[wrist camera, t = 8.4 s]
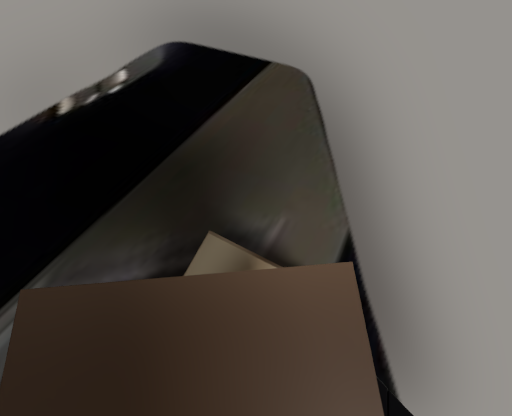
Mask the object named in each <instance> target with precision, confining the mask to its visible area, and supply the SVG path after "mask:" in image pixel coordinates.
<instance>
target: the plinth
mask: <svg viewBox="0 0 512 416" xmlns="http://www.w3.org/2000/svg"><path fill="white" fill-rule="evenodd" d="M272 268H283V267H281V266H279V265H277V264H275V263H273V262H271V261H269V260H267V259H265V258H263V257H261V256H259V255H257V254H255V253H253V252H251V251H249V250H247V249H245V248H243V247H241V246H239V245H237V244H235V243H234V242H232V241H230V240H228V239H226V238H224V237H222V236H220V235H218V234H216V233H214V232H212V231H210V230H209V232H208V234H207V235H206V237H205V239H204V241H203V242H202V244H201V246H200V248H199V249H198V251H197V253H196V255H195V256H194V258H193V260H192V262H191V263H190V265H189V267H188V269H187V270H186V272H185V274H184V276H190V275H201V274H213V273H225V272H237V271H249V270H261V269H272Z"/></svg>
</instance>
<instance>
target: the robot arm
mask: <svg viewBox="0 0 512 416" xmlns="http://www.w3.org/2000/svg"><path fill="white" fill-rule="evenodd" d="M376 379H377V384H378V388H379V393H380V398H381V403H382V408H383V413H384V416H413V415H412V414H411V413H410V412H409V411H408V410H407V409H406V408H405V407H404V406H403V405H402V403H401V402H400V401H399V400H398V399H397V398H396V397H395V396H394V395H393V394H392V393H391V392H390V391H388V389H387V388H386V386H385V385H384V384H383V383H382V382H381V381H380V380H379V379H378V378H377V377H376Z"/></svg>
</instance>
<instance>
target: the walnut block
mask: <svg viewBox="0 0 512 416" xmlns="http://www.w3.org/2000/svg"><path fill="white" fill-rule="evenodd" d="M0 416H384V413H383V408H382V403H381V398H380V393H379V388H378V384H377V379H376V374H375V369H374V364H373V359H372V355H371V350H370V345H369V340H368V335H367V330H366V326H365V321H364V316H363V311H362V306H361V301H360V297H359V292H358V287H357V282H356V277H355V273H354V268H353V263H352V262H343V263H332V264H320V265H308V266H296V267H284V268H272V269H261V270H249V271H237V272H225V273H213V274H201V275H190V276H178V277H166V278H154V279H142V280H130V281H119V282H107V283H95V284H83V285H71V286H59V287H48V288H36V289H24V290H20V295H19V300H18V305H17V309H16V314H15V319H14V324H13V329H12V333H11V338H10V343H9V348H8V352H7V357H6V362H5V367H4V372H3V376H2V381H1V386H0Z"/></svg>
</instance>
